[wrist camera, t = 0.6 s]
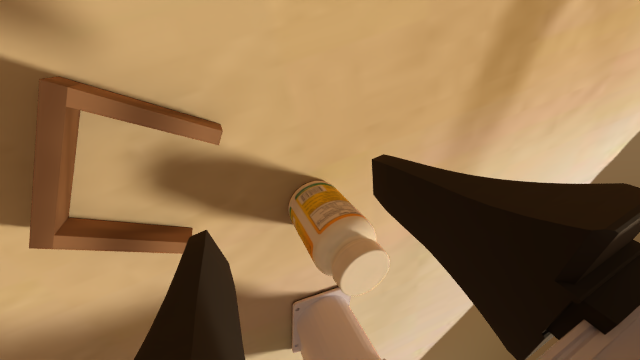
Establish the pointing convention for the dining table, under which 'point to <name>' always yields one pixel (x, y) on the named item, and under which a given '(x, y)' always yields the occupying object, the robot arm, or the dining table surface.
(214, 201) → the dining table surface
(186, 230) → the brown wooden u-shaped frame
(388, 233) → the dining table surface
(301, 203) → the supplement bottle
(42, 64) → the dining table surface
